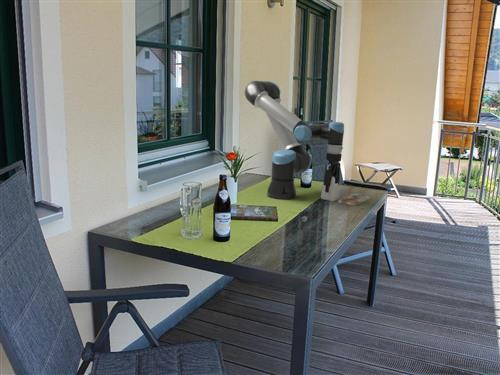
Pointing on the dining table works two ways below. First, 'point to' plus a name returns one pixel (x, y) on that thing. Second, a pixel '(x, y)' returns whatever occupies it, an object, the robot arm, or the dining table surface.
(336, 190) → the medicine bottle
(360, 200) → the coaster board
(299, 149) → the robot arm
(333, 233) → the dining table surface
